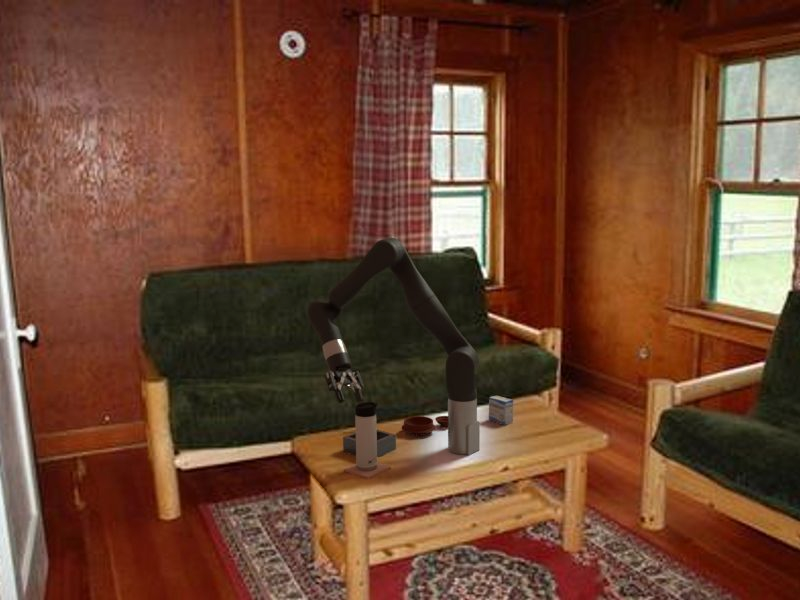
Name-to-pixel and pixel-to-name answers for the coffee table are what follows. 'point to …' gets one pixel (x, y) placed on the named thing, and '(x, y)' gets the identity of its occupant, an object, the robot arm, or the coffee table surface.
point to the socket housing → (384, 443)
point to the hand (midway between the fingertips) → (351, 402)
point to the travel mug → (366, 436)
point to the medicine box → (500, 410)
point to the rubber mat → (367, 474)
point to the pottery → (423, 424)
